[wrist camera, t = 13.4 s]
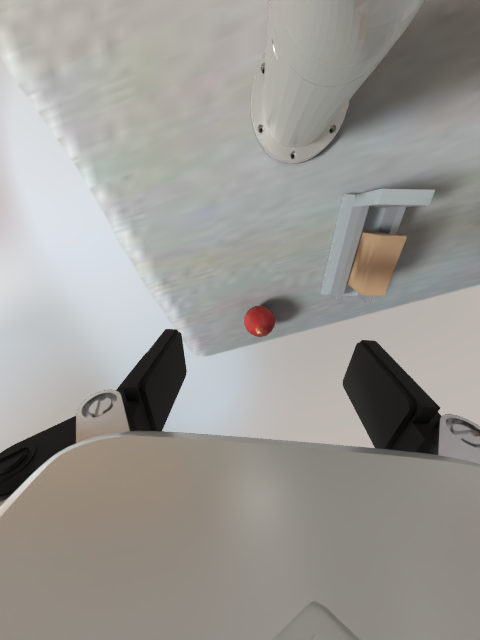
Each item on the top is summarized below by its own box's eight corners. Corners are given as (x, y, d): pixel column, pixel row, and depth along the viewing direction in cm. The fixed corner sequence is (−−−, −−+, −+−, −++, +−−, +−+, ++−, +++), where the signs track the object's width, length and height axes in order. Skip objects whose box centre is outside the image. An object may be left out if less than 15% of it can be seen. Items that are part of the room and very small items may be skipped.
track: (342, 195, 30) (369, 188, 23) (402, 196, 30) (448, 190, 23) (320, 292, 38) (335, 310, 31) (368, 294, 37) (394, 313, 30)
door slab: (353, 231, 32) (382, 235, 24) (373, 231, 31) (407, 236, 24) (341, 279, 35) (362, 295, 28) (358, 280, 35) (384, 296, 28)
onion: (278, 306, 40) (283, 326, 33) (265, 328, 42) (267, 350, 35) (252, 295, 39) (251, 312, 32) (241, 318, 42) (238, 339, 35)
